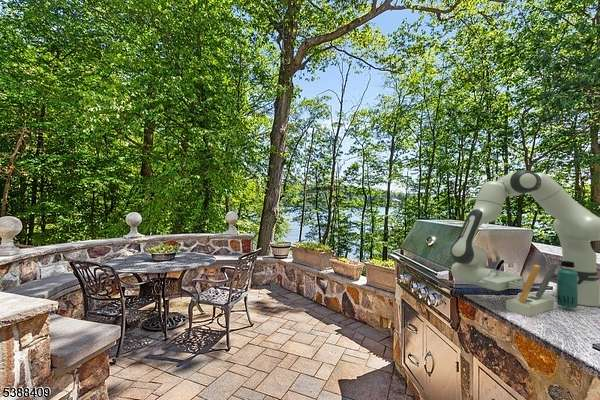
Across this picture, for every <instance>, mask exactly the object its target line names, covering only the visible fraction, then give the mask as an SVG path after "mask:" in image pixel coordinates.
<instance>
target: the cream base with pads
mask: <svg viewBox="0 0 600 400" xmlns="http://www.w3.org/2000/svg"><path fill="white" fill-rule="evenodd" d="M535 295H536V293H535V294H534V293H532V292H531V293H530V292H529V294H528V297H527V299H526V301H525V302H522V303H521V302H520V301H518V300H519V298H520V295H519V296H517V297H513V298H510V299H506V300H505V301H506V304H505V305H506V307H505V308H506V309H505V310H506V311H508V312H513V313H514V314H515V313H516V314H517V315H521V316H525V317H527V318H530V317H533V316H536V315H538V314H541V313H543V312H547V311H549V310H552V309H554V298H551V297H547V296H542V297H537V296H535Z"/></svg>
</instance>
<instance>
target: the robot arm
mask: <svg viewBox="0 0 600 400" xmlns="http://www.w3.org/2000/svg"><path fill="white" fill-rule="evenodd" d="M524 194H529V195H530V196H531V197H532V199H534V201H535V202H536V203H537V204H538V205H539V206H540V207H541V208H542V209H543V210H544V211H545V212H546V213H547V215H549V216H551V217H552V218H555V219H554V221H553V222H552V229H553V230H554V231H555V233H556V234H557V237H558V239H559V243H560V246H561V252H562V253H561V254H562V261H570V262H574V267H573V268H572V267H564V266H561V268H560V269H562V268H564V269H571V270H574V271H576V272H577V273H578V279H577V294H578V295H577V298H578V299H577V302H578V303H577V305H581V306H588V307H598V308H600V281H599V279H600V278H599V274H600V272H599V271H598V270H597V253H596V252H595V250H594V249H593V248H592V245H591V244H590V242H596V241H597V242H598V241H600V217H599V216H597V215H595V213H593V212H591V211H590V210H588V209H587V208H586V207H585V206H583V205H581V204H580V203H579V202H577V200H575V199H574V198H573V197H572V196H571V195H570V194H569V193H568V192H567V191H566V190H565V189H564V188H563V186H561V185H560V184H559V182H557V181H556V180H554V179H553V178H552V177H551V176H549V175H548V174H547V173H545V172H542V171H541V172H533V171H531V170H529V169H528V170H525V169H519V170H517V171H513V172H509V173H507V174H505V175H502V176H500V177H498V178H497V179H496V180H495V181H494V180H490V181H486V182H484V183H483V184H482V186H481V188H480V189H479V192H478V194H477V196H476V198H475V199H476V200H475V203H474V206H473V208H472V209H471V210H470V212H469V213H468V214H467V216H466V217H465V220H464V221H463V222H464V223H463V224H462V227H461V229H460V231H459V233H458V236H457V238H456V239H455V241H454V242H453V244H452V245H451V246H450V250H449V253H450V257H451V258H452V260H453V261H454V263H453V264H452V265H451V268H450V271H451V275H452V277H453V278H454V279H455V280H456V281H458V282H461V283H465V284H467V285H471V286H472V285H474V286H477V287H480V288H484V289H486V290H492V291H497V292H500V291H505V290H508V289H519V290H523V288H524V286H525V284H526V283H524V278H523V276H521V275H517V274H514V273H511V272H510V273H509V272H505V271H503V270H502V269H493V268H488V267H486V266H487V262H488V254H487V252H486V250H484V249H483V248H481V247H479V246H478V245H477V246H476V245H474V243H473V242H474V241H475V238H476V235H477V233H478V230H479V228H480V227H481V226H483V225H484V224H487V223H488V224H489V223H493V222H495V221H497V220H498V218H499V217H500V216H501V213H502V211H503V207H504V203H505V200H506V198H510V197H517V196H521V195H524ZM551 295H553V296H554V297H556V298H557V286H556V289H555V292H552V294H551Z"/></svg>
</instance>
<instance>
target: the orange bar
mask: <svg viewBox="0 0 600 400" xmlns="http://www.w3.org/2000/svg"><path fill="white" fill-rule="evenodd" d="M541 266H542V265H539V264H534V265H532V267H531V270H530V271H529V274H528V277H527V279H526V281H525V283H524V284H525V286H524V288H523V289H522V291H521V293H520V295H519V296H520V298H519V300H518V301H520V302H521V303H522V302H525V301H526V299H527V297H528V294H530V292H531V289H532V287H533V285H534V282H535V280H536V279H537V276H538V274H539V271H540V269H541Z"/></svg>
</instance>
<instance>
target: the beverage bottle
mask: <svg viewBox="0 0 600 400" xmlns="http://www.w3.org/2000/svg"><path fill="white" fill-rule="evenodd" d="M560 262H561V263H560V266H561V268H562V267H563V266H564V267H572V268H573V267H574V262H570V261H563V260H562V261H560ZM561 268H559V269H558V270H557V278H556V287H557V297H556V303H557V305H558V306H560V307H565V308H567V309H576V308H578V304H577V303H578V302H577V299H578V298H577V295H578V294H577V279H578V273H577V272H576V271H574V270H571V269H564V268H562V269H561Z"/></svg>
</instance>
